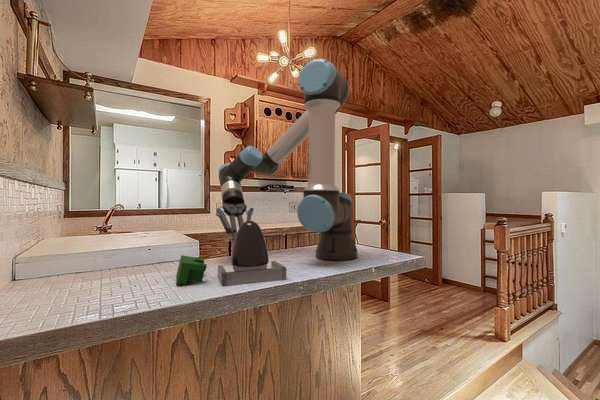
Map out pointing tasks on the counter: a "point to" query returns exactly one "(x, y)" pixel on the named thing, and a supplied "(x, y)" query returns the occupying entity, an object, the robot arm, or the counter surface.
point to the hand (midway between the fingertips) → (241, 249)
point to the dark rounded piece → (249, 248)
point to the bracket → (252, 275)
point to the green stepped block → (190, 270)
